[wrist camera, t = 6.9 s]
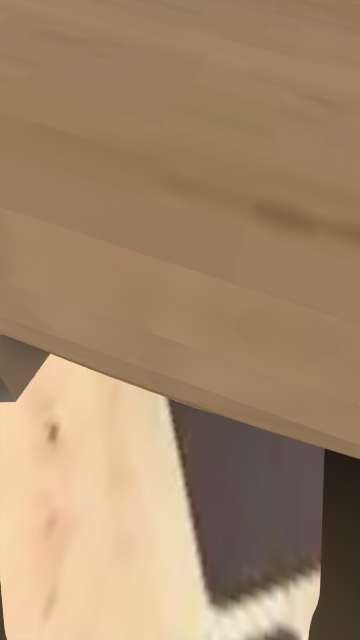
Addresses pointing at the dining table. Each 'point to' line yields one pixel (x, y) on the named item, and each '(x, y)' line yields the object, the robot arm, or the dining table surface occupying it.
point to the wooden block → (189, 201)
